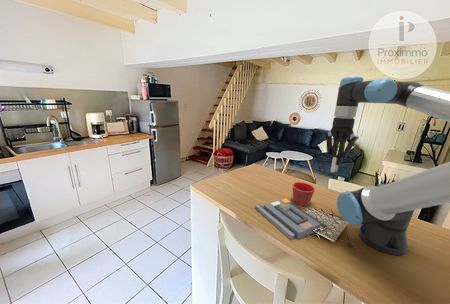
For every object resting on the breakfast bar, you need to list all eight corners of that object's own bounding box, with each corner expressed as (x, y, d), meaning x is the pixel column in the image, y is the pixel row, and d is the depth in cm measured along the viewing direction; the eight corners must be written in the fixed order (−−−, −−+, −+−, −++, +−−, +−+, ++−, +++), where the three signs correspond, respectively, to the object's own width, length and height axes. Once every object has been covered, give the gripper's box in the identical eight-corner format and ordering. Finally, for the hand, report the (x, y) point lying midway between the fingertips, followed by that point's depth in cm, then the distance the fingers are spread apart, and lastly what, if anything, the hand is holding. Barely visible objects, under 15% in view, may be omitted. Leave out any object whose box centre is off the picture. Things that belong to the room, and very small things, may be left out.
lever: (289, 209, 88) (290, 201, 87) (283, 211, 87) (285, 202, 85) (284, 206, 91) (285, 198, 89) (279, 208, 89) (280, 199, 88)
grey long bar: (296, 237, 75) (297, 234, 74) (290, 240, 74) (291, 236, 73) (259, 206, 95) (259, 203, 95) (254, 208, 94) (255, 205, 93)
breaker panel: (319, 229, 80) (321, 222, 79) (298, 239, 74) (299, 231, 73) (282, 204, 99) (283, 197, 97) (263, 210, 93) (264, 203, 92)
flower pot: (314, 209, 95) (317, 192, 92) (291, 206, 97) (294, 189, 94) (309, 199, 105) (312, 183, 102) (289, 196, 107) (291, 181, 104)
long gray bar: (325, 229, 80) (326, 225, 80) (321, 231, 79) (322, 227, 79) (285, 202, 101) (285, 199, 100) (281, 203, 99) (281, 200, 99)
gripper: (366, 118, 73) (353, 174, 79) (333, 116, 83) (324, 165, 89) (357, 119, 69) (344, 178, 75) (323, 116, 79) (315, 168, 86)
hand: (333, 171), depth 82 cm, fingers closed
